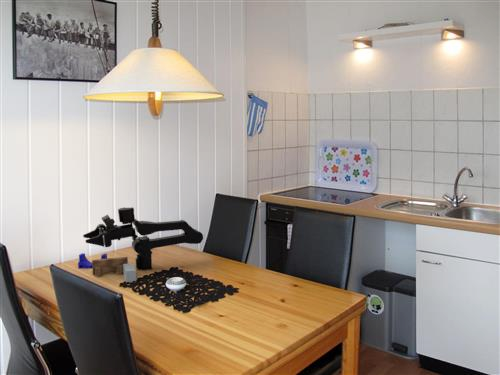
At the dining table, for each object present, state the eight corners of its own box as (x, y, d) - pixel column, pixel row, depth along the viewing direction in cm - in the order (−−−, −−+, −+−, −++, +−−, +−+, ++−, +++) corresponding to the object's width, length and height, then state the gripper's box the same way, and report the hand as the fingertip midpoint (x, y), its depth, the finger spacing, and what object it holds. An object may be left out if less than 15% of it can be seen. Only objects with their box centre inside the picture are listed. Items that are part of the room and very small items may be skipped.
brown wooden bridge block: (127, 269, 231) (127, 256, 230) (129, 273, 225) (128, 260, 224) (92, 273, 226) (92, 259, 225) (93, 277, 220) (92, 263, 219)
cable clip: (78, 268, 234) (77, 255, 233) (82, 266, 238) (81, 253, 238) (103, 269, 233) (103, 256, 232) (107, 266, 237) (106, 253, 237)
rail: (132, 274, 225) (132, 263, 224) (136, 282, 213) (135, 270, 213) (123, 275, 223) (123, 264, 223) (126, 283, 212) (126, 271, 212)
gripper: (115, 210, 234) (79, 216, 228) (122, 218, 217) (83, 225, 211) (118, 233, 236) (83, 240, 231) (125, 244, 219) (87, 251, 214)
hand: (84, 238), depth 221 cm, fingers open, 9 cm apart
